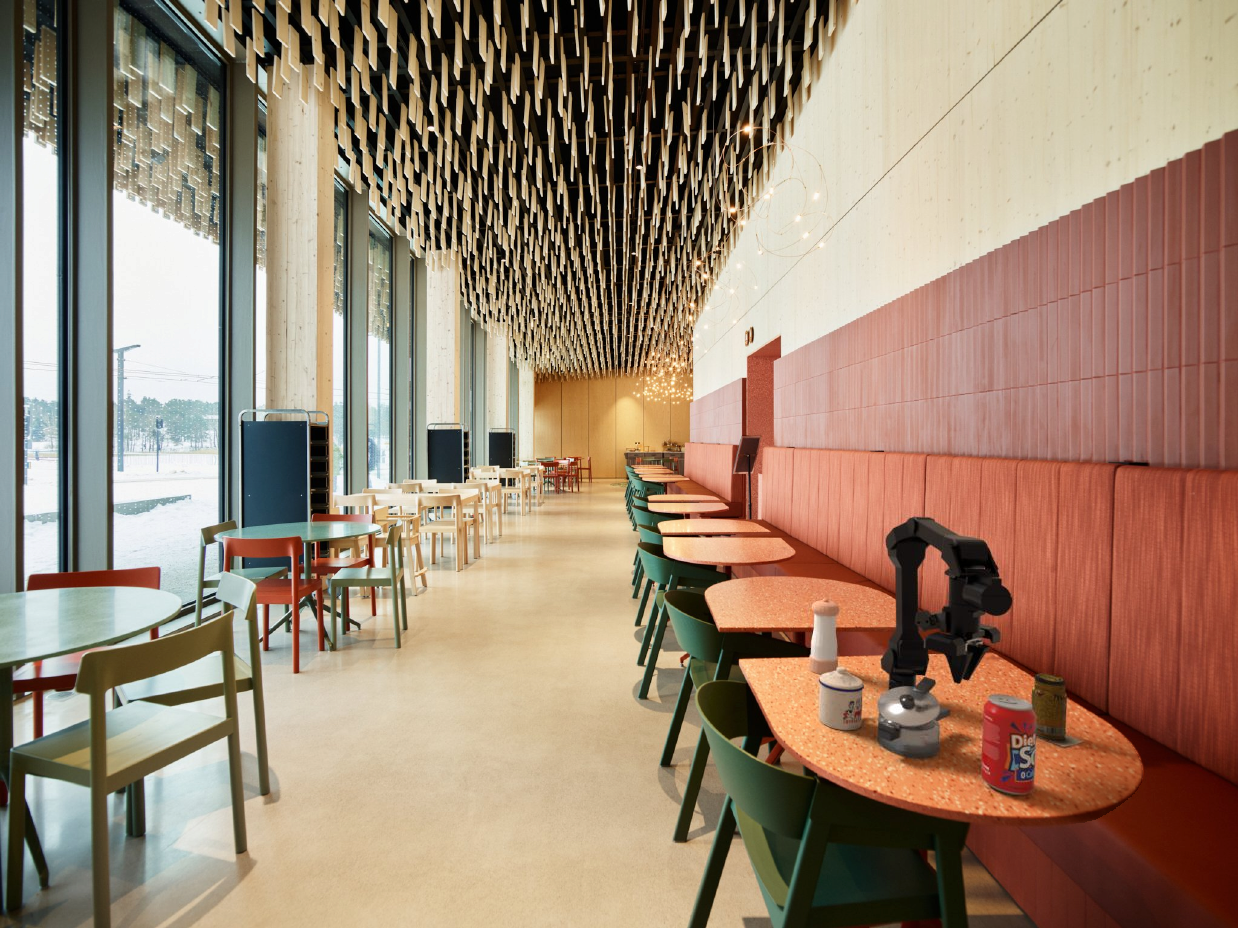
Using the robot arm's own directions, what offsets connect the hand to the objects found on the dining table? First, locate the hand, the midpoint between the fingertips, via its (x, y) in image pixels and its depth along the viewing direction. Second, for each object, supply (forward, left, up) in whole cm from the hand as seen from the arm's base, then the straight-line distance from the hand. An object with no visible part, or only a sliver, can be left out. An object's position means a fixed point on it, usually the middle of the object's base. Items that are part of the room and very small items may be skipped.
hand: (961, 681), depth 122 cm
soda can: (+8, +12, -13) cm, 20 cm away
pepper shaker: (-14, -42, -13) cm, 46 cm away
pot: (+5, -6, -13) cm, 15 cm away
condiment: (-22, +8, -13) cm, 27 cm away
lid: (+7, -6, -5) cm, 11 cm away
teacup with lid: (+9, -20, -13) cm, 26 cm away
